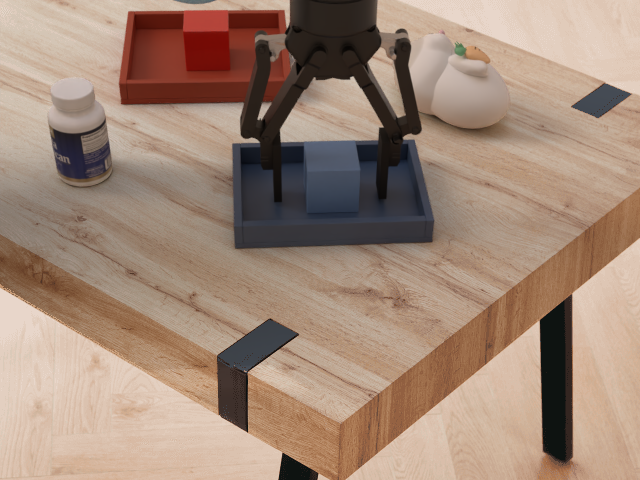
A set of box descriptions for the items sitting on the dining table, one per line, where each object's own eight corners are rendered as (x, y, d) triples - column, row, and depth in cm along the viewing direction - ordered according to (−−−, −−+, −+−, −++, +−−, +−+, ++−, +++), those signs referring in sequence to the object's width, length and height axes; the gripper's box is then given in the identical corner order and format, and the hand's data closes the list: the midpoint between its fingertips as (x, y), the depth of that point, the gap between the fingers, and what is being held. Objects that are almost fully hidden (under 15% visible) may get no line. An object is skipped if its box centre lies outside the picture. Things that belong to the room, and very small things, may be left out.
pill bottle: (46, 172, 107) (30, 87, 101) (90, 150, 111) (77, 66, 104) (80, 195, 105) (65, 109, 98) (124, 172, 108) (112, 87, 102)
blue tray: (234, 248, 100) (233, 226, 98) (233, 164, 110) (232, 143, 108) (432, 242, 102) (434, 220, 100) (413, 160, 112) (414, 139, 110)
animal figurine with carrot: (525, 55, 110) (402, -1, 115) (485, 118, 109) (362, 58, 113) (527, 100, 119) (413, 46, 124) (490, 158, 118) (376, 101, 122)
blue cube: (303, 183, 107) (303, 141, 104) (353, 181, 108) (355, 139, 104) (306, 213, 103) (307, 171, 100) (358, 212, 104) (360, 169, 101)
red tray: (121, 104, 117) (118, 83, 116) (130, 30, 130) (128, 10, 128) (291, 101, 120) (291, 80, 118) (284, 29, 132) (284, 9, 130)
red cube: (186, 71, 122) (183, 31, 119) (187, 49, 126) (183, 10, 122) (230, 70, 123) (228, 30, 119) (230, 48, 126) (228, 9, 123)
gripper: (200, -2, 86) (215, 219, 101) (471, -4, 89) (447, 212, 104) (201, -42, 92) (215, 173, 107) (456, -43, 94) (435, 167, 109)
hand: (329, 192), depth 105 cm, fingers open, 9 cm apart
